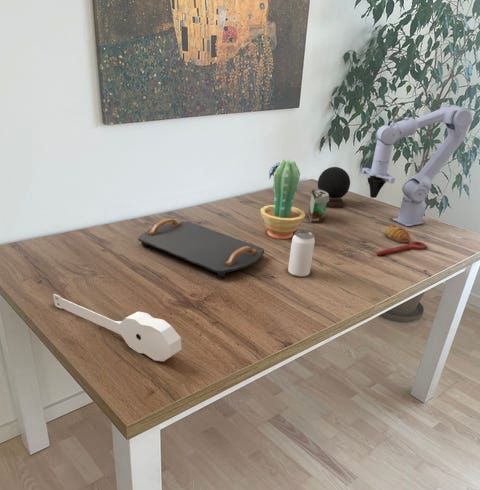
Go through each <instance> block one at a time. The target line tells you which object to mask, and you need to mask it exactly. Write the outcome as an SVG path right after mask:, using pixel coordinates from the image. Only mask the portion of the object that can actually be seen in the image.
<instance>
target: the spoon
mask: <svg viewBox="0 0 480 490" xmlns="http://www.w3.org/2000/svg"><path fill="white" fill-rule="evenodd" d="M426 247H427V244H426V243H425V242H423V241H409V243H408V244H405V245H401V246H396V247H392V248H391V247H390V248H387V249H382V250H379V251H378V250H377V252H376V255H377V257H380V256H385V255H390V254H393V253H398V252H402V251H407V250H417V251H422V250H424V249H426Z"/></svg>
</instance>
